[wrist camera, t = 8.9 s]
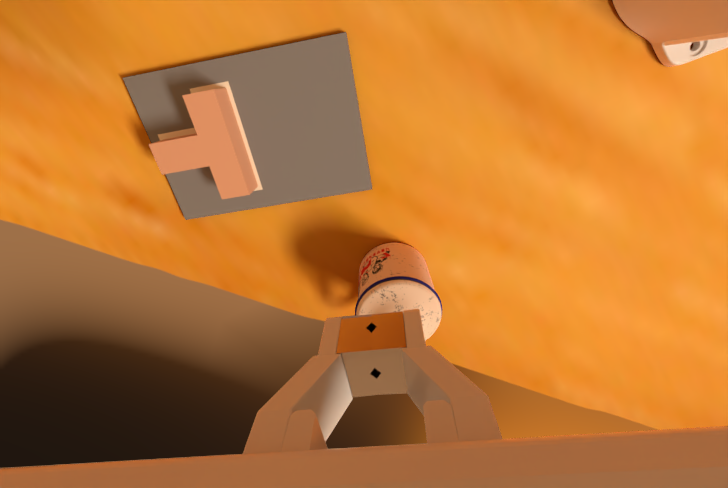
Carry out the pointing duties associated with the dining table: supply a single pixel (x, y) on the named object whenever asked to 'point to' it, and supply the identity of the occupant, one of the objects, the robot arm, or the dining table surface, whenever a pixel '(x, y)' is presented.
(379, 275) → the teacup with lid
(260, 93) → the t mat
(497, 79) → the dining table surface
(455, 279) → the dining table surface
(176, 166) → the t block
